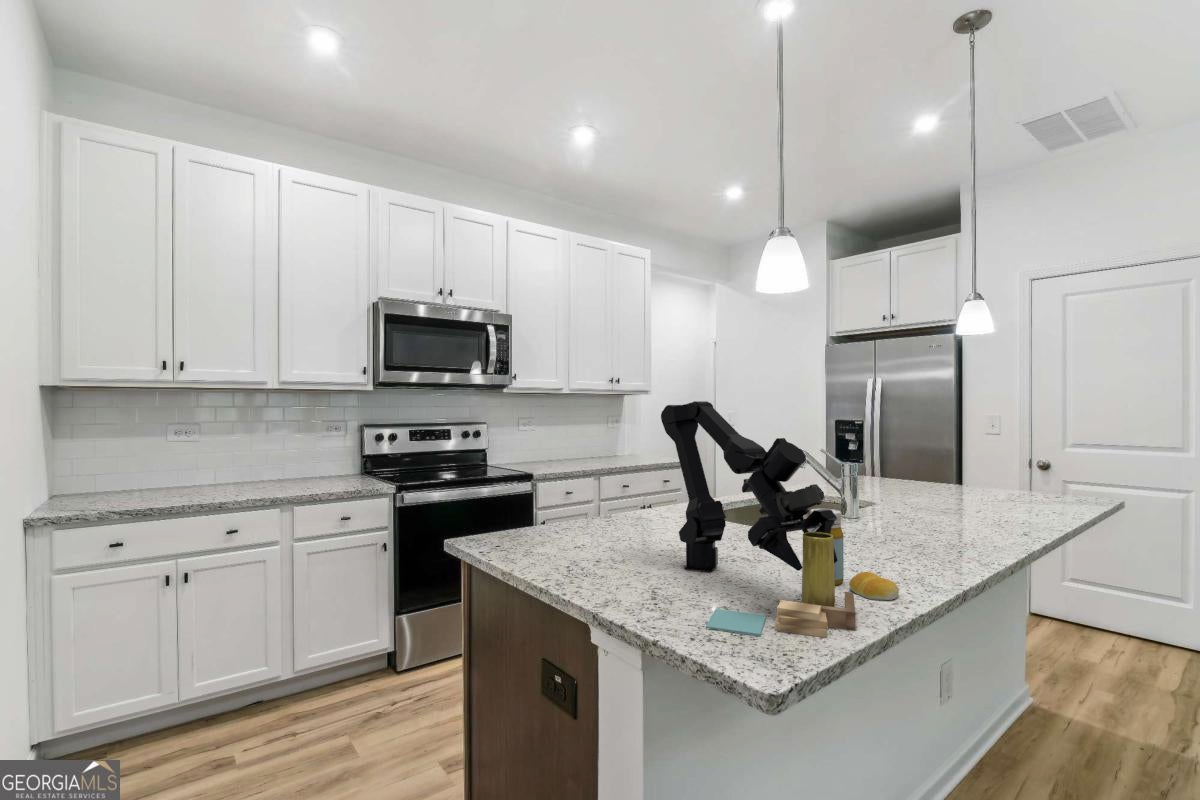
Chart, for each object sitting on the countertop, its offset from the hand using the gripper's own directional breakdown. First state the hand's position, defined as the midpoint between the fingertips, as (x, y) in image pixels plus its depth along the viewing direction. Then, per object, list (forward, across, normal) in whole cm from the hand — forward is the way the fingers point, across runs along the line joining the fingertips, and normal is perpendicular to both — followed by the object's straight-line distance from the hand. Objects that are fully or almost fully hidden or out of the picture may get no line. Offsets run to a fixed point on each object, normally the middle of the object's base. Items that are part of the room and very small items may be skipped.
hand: (818, 565), depth 105 cm
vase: (+6, 0, +6) cm, 9 cm away
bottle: (-3, +17, +15) cm, 23 cm away
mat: (+3, -16, +9) cm, 19 cm away
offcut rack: (+7, -3, +5) cm, 9 cm away
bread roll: (+5, +19, +8) cm, 21 cm away
